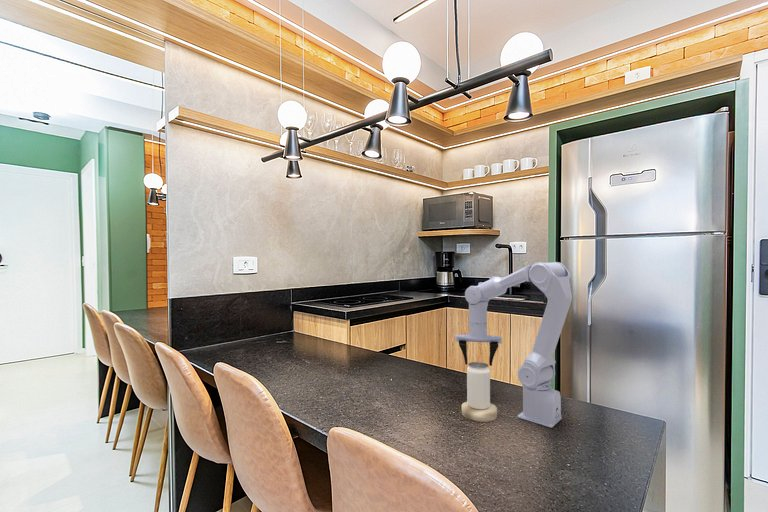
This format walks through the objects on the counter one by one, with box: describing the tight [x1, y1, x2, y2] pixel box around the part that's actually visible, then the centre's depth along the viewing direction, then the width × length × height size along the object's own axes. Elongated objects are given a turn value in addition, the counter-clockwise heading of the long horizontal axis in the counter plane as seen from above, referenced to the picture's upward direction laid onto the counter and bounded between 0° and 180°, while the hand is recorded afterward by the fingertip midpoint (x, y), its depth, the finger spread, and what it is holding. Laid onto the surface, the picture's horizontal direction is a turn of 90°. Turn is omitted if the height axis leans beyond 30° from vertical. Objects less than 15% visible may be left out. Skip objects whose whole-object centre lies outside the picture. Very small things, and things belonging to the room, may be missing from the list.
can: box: [466, 361, 491, 410], centre depth 106 cm, size 6×6×12 cm
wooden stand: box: [461, 401, 498, 423], centre depth 105 cm, size 10×10×2 cm
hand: (478, 364), depth 119 cm, fingers open, 7 cm apart
